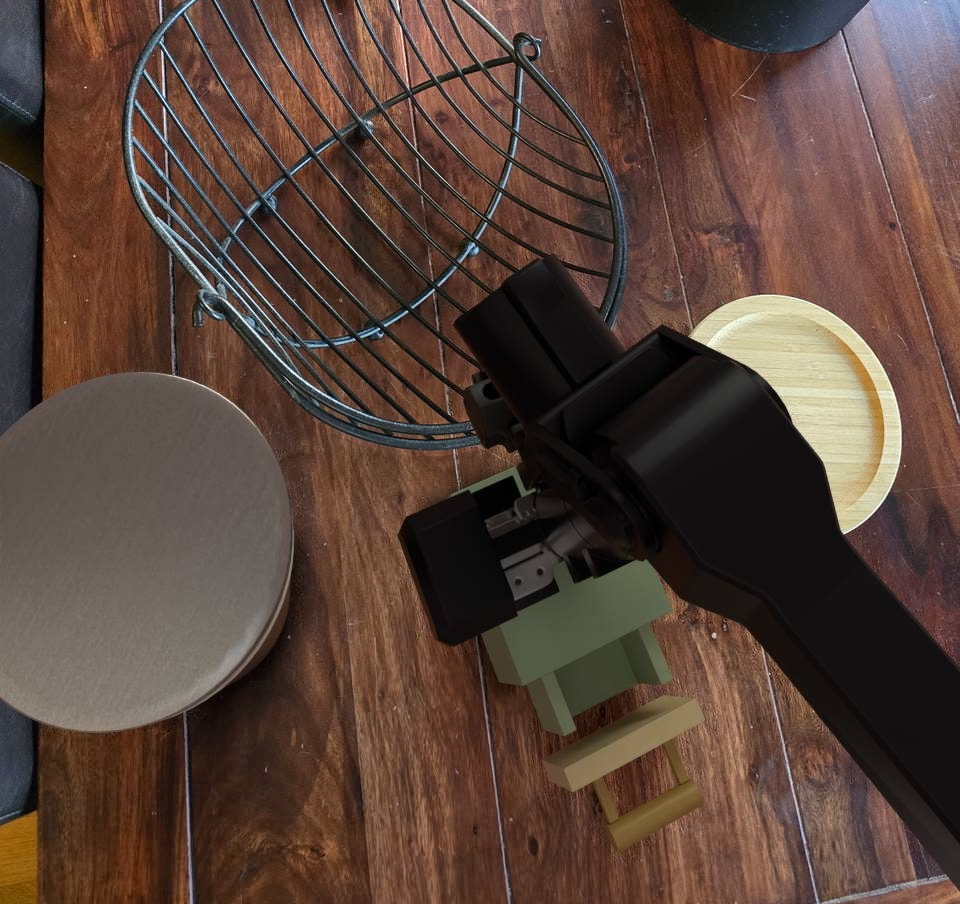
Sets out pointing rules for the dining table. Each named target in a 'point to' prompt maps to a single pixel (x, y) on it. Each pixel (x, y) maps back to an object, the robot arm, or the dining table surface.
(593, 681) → the drawer
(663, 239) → the dining table surface
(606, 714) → the dining table surface
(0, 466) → the round grey canister
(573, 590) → the cabinet
